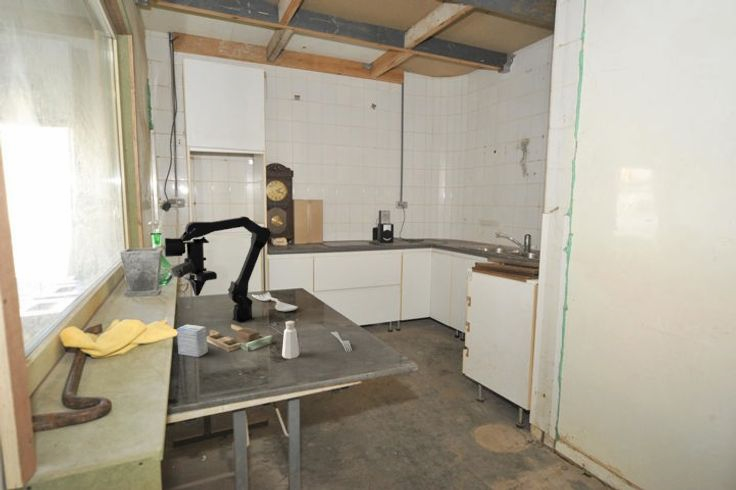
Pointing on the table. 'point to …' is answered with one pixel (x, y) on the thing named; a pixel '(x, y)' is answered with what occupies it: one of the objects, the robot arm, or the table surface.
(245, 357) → the table surface
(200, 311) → the table surface
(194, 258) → the robot arm
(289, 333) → the salt shaker
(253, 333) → the block
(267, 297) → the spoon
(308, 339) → the table surface
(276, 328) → the wrench
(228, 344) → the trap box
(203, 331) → the medicine box
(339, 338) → the fork
